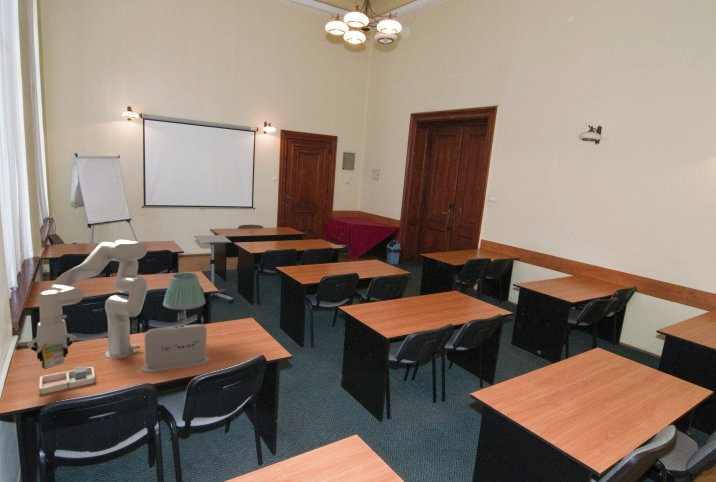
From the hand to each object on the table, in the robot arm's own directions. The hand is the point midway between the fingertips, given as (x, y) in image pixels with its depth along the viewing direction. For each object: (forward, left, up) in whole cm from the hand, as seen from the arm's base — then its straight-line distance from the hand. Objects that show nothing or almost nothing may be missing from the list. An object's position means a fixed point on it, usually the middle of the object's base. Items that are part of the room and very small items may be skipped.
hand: (53, 357), depth 169 cm
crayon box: (0, 0, -4) cm, 4 cm away
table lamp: (-58, -18, -14) cm, 62 cm away
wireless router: (-49, +3, -14) cm, 51 cm away
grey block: (-9, 0, -13) cm, 16 cm away
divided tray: (-5, 0, -14) cm, 14 cm away
